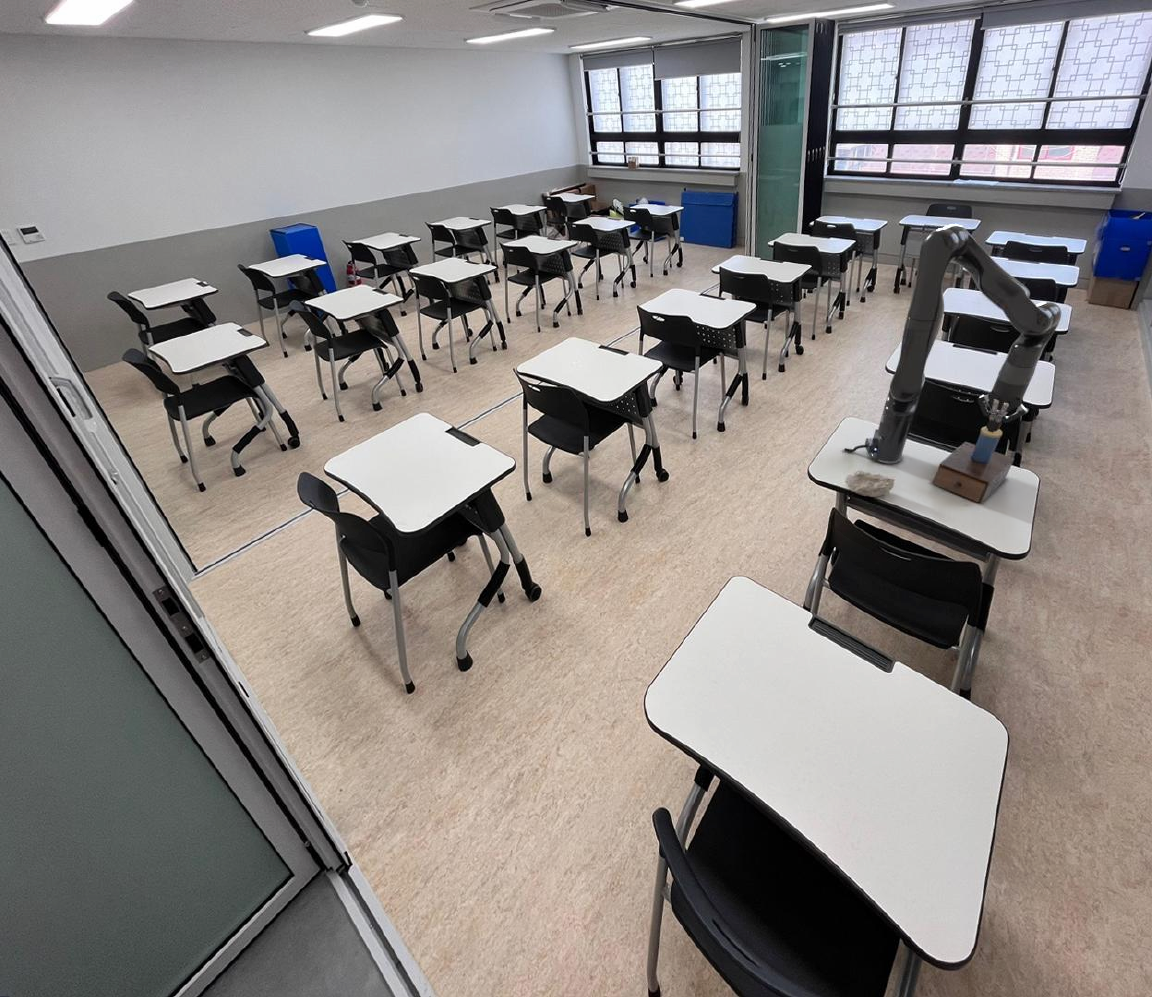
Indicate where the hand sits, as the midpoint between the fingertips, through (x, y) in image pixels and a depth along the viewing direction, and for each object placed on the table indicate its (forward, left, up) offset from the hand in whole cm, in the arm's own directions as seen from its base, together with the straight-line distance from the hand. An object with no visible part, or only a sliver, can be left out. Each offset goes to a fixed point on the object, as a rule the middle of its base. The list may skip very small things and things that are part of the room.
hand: (991, 430), depth 168 cm
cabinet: (+3, +6, -23) cm, 24 cm away
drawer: (+2, +4, -22) cm, 23 cm away
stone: (-30, +1, -23) cm, 38 cm away
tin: (+5, +8, -15) cm, 18 cm away
